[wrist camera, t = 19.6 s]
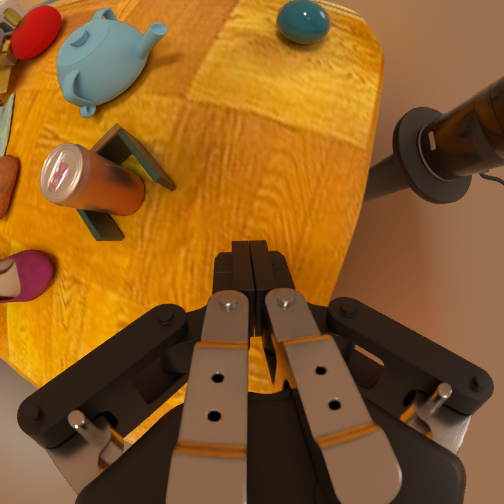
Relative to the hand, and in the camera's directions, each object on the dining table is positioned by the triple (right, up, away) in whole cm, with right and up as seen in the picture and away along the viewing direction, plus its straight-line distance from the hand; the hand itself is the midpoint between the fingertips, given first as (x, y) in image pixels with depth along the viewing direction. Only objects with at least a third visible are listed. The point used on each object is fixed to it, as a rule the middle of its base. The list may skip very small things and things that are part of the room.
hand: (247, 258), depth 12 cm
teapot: (-21, +30, +21) cm, 42 cm away
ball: (+8, +34, +20) cm, 40 cm away
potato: (-46, +12, +22) cm, 52 cm away
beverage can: (-17, +8, +22) cm, 29 cm away
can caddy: (-16, +8, +22) cm, 28 cm away
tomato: (-47, +48, +21) cm, 70 cm away
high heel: (-42, -5, +23) cm, 48 cm away
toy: (-56, +34, +21) cm, 69 cm away
